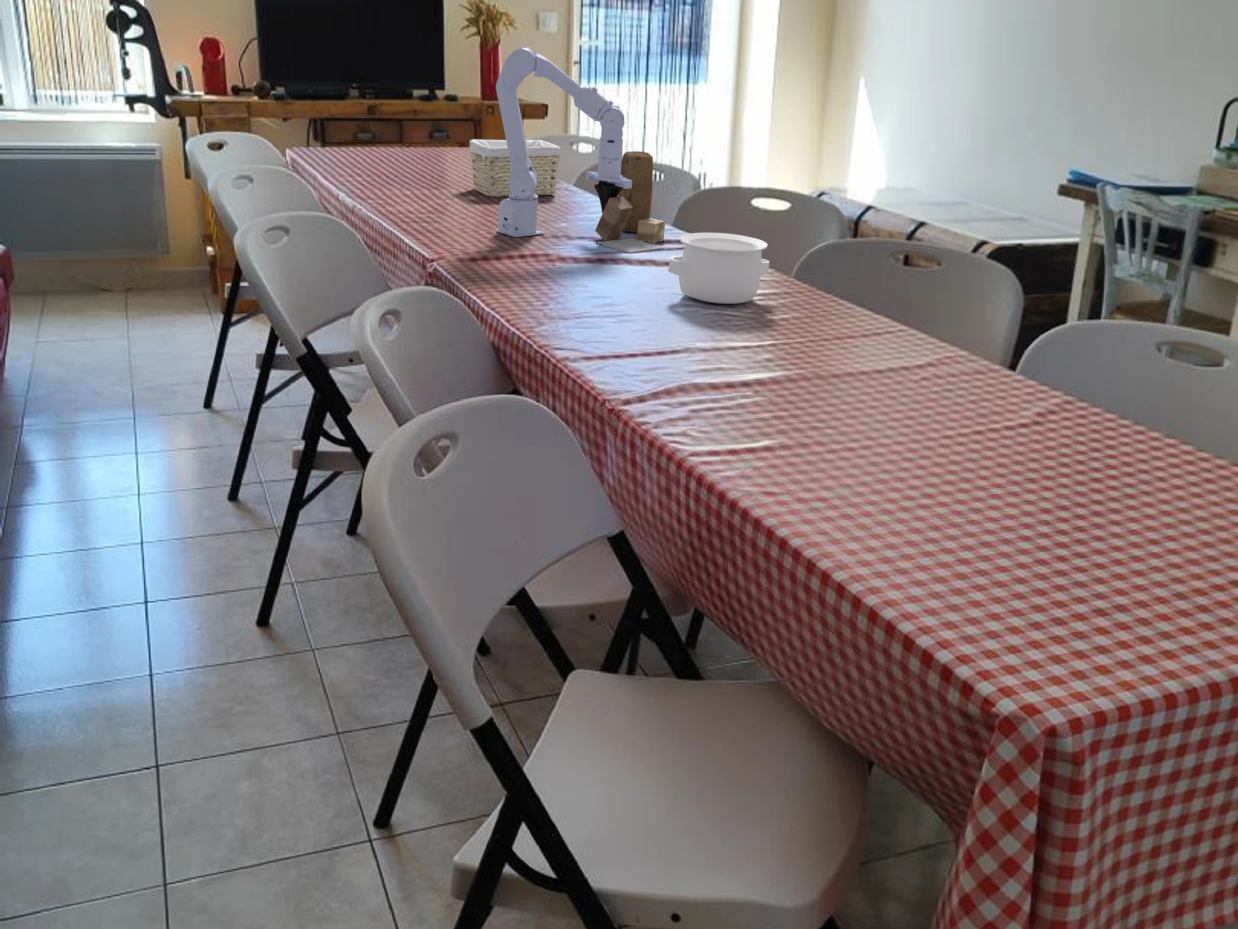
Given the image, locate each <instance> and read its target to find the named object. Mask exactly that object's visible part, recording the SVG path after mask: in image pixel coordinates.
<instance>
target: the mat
mask: <svg viewBox="0 0 1238 929" xmlns="http://www.w3.org/2000/svg"><path fill="white" fill-rule="evenodd" d="M596 243H598V244H597V245H599V244H602V245H601V246H602V247H603V246H604V247H606V246H607V248H611V249H614V250H618V251H621V252H624V253H626V254H627V253H628V254H634V253H642V252H648V251H649V252H650V251H657V250H663V249H665V247H664V246H661V245H657V244H655V243H650V242H645V241H640V240H637V238H632V237H628V238H621V239H620V238H619V240H612V241H604V240H603V241H598V242H597V241H596Z"/></svg>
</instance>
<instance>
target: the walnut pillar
mask: <svg viewBox="0 0 1238 929" xmlns="http://www.w3.org/2000/svg"><path fill="white" fill-rule="evenodd" d="M632 209H633V207H632V206H631V205H630V204H629V203H628V202H627V201H626V200H625V199H624V198H623V197H619V196H617V197H614V198H609V200H608V202H607V205H606V207H605V209H604V211H603V213H602V214H601V217H600V219H599V221H598V223H597V225H596V227H595V230H594V231H595V232H596V233H597V234H598V235H599V236H600V238H601V239H602V241H603V242H604V241H612V240H620V237H621V235H622V233H623V229H624V227H625V225H626V222H627V220H628V218H629V216H630V214H631V212H632Z"/></svg>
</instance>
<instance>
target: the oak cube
mask: <svg viewBox="0 0 1238 929" xmlns="http://www.w3.org/2000/svg"><path fill="white" fill-rule="evenodd" d="M665 228H666V221H665V220H661V219H653V218H651V217H650V218H647V219H643V220H639V221H638V233H636V236H637V237H636V240H637V239H638V240H643V241H644V242H645V241H650V242H656V241H660V240H665ZM650 242H649V243H650ZM660 242H661V241H660Z"/></svg>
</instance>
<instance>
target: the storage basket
mask: <svg viewBox="0 0 1238 929" xmlns="http://www.w3.org/2000/svg"><path fill="white" fill-rule="evenodd" d="M526 145H527V150H528V155H529V158H530V161H531V165H532V168H533V170H534V172H535V173H536V175H537V177H538V184H537V187H536V188H535V190H534V192H535V194H536V195H537V196H549V195H552V196H553V195H555V194H556V192H557V191H556V190H557V180H558V172H559V170H558V169H559V163H560V155H561V147H560V146H559V145H556V144H555V143H550V142H548V141H546V140H542V139H535V140H534V139H526ZM469 152H470V156H471V158H470V160H471V169H472V171H471V172H472V178H473V181H472V182H473V189H474V190H475V191H477V192H479V193H481V194H483V195H485V196H487V197H495V198H500V197H509V194H510V193H512V192H511V190H510V180H511V171H510V157H509V152H508V147H507V142H506V139H475V138H473V139H469Z"/></svg>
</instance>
